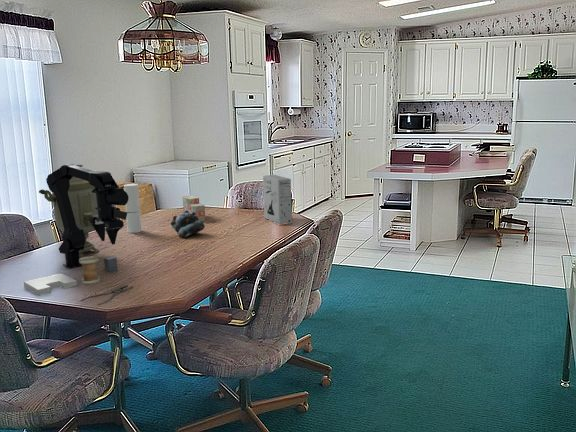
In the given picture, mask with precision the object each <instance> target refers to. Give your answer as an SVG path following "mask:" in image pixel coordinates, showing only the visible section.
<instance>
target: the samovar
mask: <svg viewBox="0 0 576 432" xmlns="http://www.w3.org/2000/svg"><path fill="white" fill-rule="evenodd" d="M75 165H76V166H79V167H82V168H83V166H84V165H83V164H75ZM69 183H70V187H69V190H68V195H69V199H70V203H71V207H72V210H73V214H74V218H75V222H76V225H77V227H78V228H79V229H80V230H81V229H83V231H84V235H85V237H86V238H85V244H84V249H83V250H79V254H80V255H81V254H82V253H83V252H88V251H91V250H92V251H94V252H96V253H99V252H100V250H99V249H97V248H96V247H95V245H94V244H93V243H91V241H89V240H87V239H88V238H89V237H90V236H89V233H90V232H93V231H95V229H94V227H93V226H92V225H91V223H90V220H89V218H90V217H91V216H95V215H98V210H96V209H95V207H97V199H96V193H92V190H93V189H94V188H95V187H94V186H92V185H90V183H89V182H88V181H86V180H83V179H80V178H76V177H73V178H72V179H71V180H70V181H69ZM38 193H39V194H41V195H44V199H45V200H47V201H48V202H49V203H50V202H51V203H52V205H53V213H54V221H55V226H56V227H57V228H58V229H59V230H61V231H62V232H64V226H63V222H62V219H61V215H60V211H59V207H58V204H57V200H56V196H55V195H54V194H53V193H52V192H51V191H50V190H47V189H39V190H38Z"/></svg>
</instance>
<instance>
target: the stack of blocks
mask: <svg viewBox="0 0 576 432" xmlns="http://www.w3.org/2000/svg"><path fill="white" fill-rule="evenodd" d="M182 206H183V207H182V209H183V213H184V212H185V211H188V212H189V213H191V212H195V214H196V216H197V217H198V219H199V221H202V222H206V205H205V204H202V203H200V198H199V197H198V196H194V195H185V196H182Z"/></svg>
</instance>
